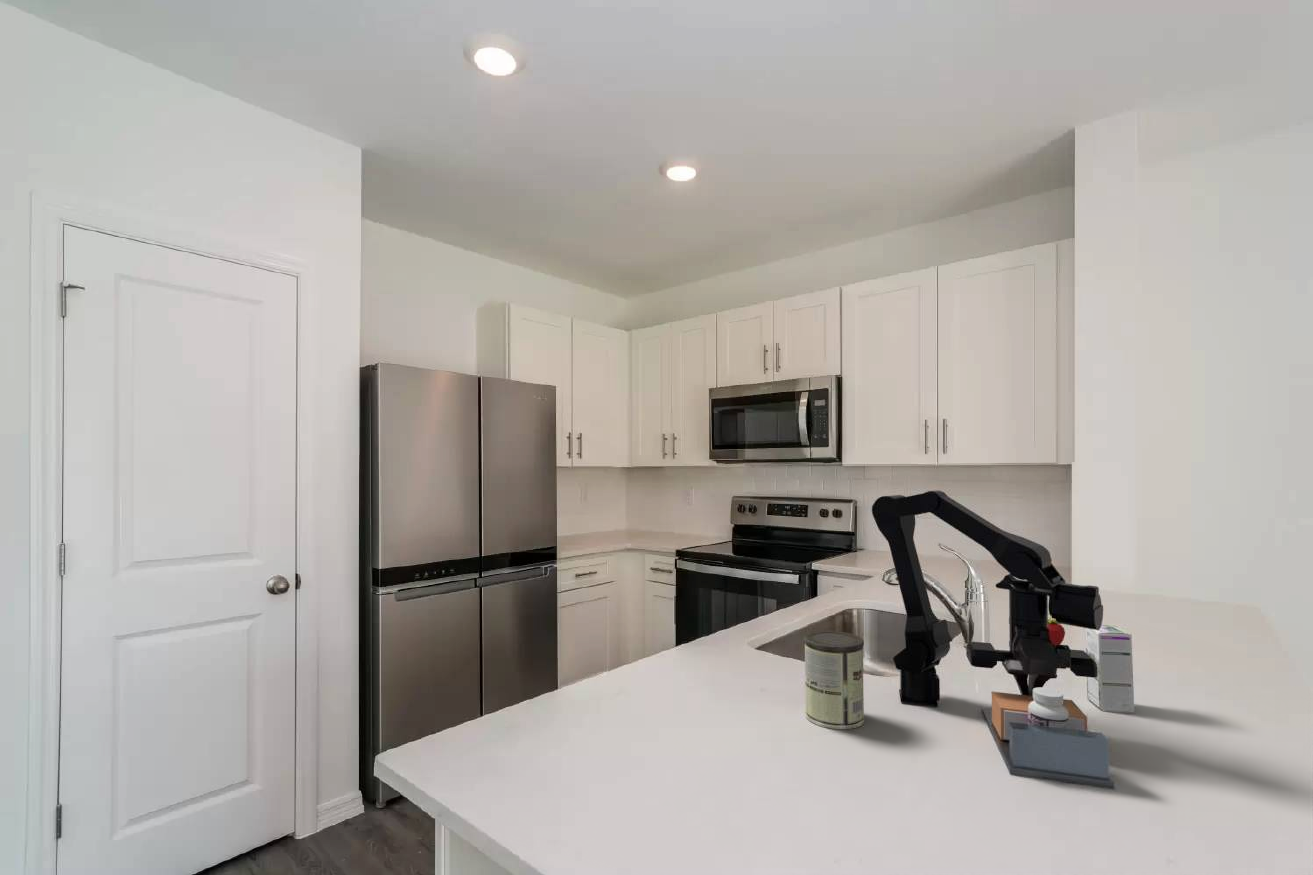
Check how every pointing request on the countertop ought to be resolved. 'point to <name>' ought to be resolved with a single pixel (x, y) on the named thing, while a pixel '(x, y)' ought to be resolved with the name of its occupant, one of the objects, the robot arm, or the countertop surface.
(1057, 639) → the strawberry
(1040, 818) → the countertop surface
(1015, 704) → the block
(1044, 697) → the pill bottle
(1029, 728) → the base
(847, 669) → the coffee can
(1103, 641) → the syrup box
